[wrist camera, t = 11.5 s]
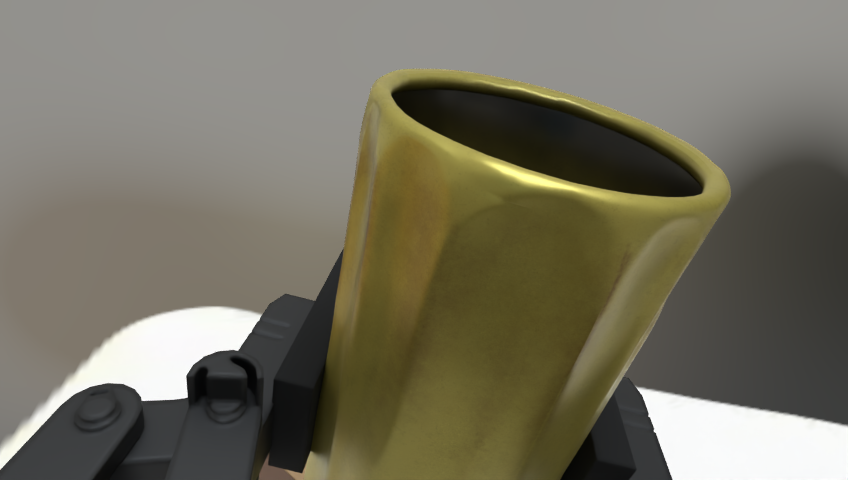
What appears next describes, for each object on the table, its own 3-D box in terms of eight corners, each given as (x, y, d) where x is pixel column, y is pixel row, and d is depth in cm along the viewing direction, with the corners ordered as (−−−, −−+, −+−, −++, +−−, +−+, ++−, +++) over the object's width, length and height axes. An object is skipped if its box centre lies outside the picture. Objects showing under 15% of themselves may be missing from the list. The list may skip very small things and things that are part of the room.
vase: (284, 485, 16) (327, 40, 8) (453, 469, 17) (609, 91, 10) (278, 742, 11) (367, 202, 3) (514, 682, 13) (899, 245, 5)
